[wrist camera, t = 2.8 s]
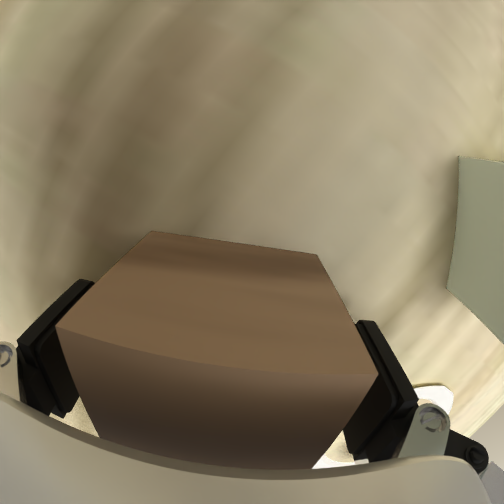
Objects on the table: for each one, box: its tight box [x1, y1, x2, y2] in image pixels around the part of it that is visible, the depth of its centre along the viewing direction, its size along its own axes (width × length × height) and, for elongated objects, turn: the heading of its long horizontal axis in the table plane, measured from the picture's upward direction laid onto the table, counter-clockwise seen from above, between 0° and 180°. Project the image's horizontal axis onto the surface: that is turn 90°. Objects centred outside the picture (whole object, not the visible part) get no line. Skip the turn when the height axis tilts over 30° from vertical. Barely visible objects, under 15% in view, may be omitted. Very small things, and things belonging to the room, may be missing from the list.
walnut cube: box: [55, 231, 378, 470], centre depth 8 cm, size 6×6×6 cm
